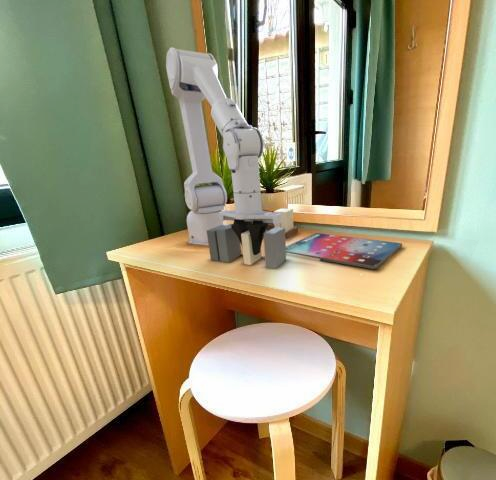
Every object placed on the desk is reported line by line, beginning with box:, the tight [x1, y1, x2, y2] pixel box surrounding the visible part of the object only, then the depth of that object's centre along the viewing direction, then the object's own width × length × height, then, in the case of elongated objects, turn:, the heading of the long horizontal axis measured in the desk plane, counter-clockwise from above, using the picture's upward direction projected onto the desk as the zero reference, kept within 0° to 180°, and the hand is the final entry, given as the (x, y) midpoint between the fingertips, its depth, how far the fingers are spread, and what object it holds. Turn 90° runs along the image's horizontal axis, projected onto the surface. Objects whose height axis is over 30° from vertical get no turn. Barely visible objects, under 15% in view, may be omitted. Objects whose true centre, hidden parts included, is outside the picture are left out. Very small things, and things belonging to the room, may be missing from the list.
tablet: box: [286, 232, 403, 270], centre depth 75 cm, size 19×25×1 cm
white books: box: [273, 208, 294, 233], centre depth 87 cm, size 4×5×7 cm
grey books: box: [207, 223, 287, 270], centre depth 69 cm, size 17×6×8 cm, turn 66°
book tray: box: [263, 224, 299, 240], centre depth 90 cm, size 13×8×2 cm, turn 66°
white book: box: [241, 230, 262, 266], centre depth 68 cm, size 2×5×7 cm, turn 156°
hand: (252, 253), depth 69 cm, fingers closed on white book, 2 cm apart
